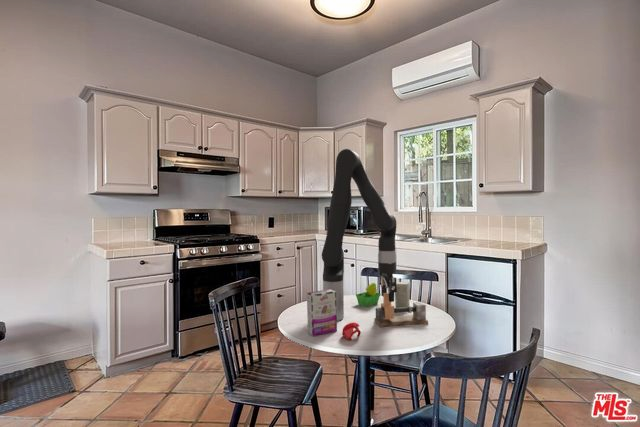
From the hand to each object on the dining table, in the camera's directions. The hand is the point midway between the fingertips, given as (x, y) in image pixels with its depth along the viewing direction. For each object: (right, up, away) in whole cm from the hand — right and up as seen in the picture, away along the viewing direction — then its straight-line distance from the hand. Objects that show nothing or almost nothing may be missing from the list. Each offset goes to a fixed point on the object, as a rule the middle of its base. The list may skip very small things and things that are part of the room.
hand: (387, 298), depth 150 cm
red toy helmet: (-17, -12, -15) cm, 25 cm away
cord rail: (+6, -11, +1) cm, 12 cm away
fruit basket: (-4, -10, +29) cm, 31 cm away
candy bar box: (-28, -12, -8) cm, 31 cm away
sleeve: (0, -8, 0) cm, 8 cm away
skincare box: (+11, -10, +23) cm, 27 cm away
